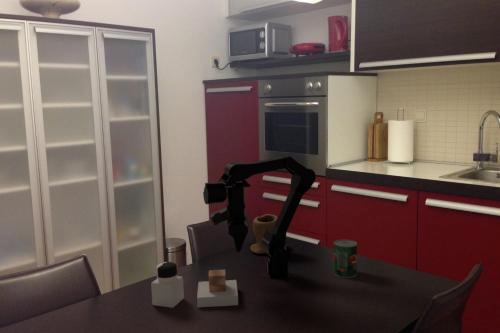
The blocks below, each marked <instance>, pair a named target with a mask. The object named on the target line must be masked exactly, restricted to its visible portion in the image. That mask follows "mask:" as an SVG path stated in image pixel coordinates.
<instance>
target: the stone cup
mask: <svg viewBox="0 0 500 333" xmlns="http://www.w3.org/2000/svg"><path fill="white" fill-rule="evenodd" d="M277 218H278V215H275V214H270V213H267V214H263V215H260V216H256V217H255V218H254V219H253V221H252V229H253V230H252V231H253V233H254V234H253V235H254V236H255V239H256V243H253V244H251V246H250V250H251V252H252V253H255V254H267V252H266V251H264V250H263V248H262V245H261V243H262V240H261V239H262V237H263V236H264V233H265V230H266V229H267V230H269V231H270V230H271V229H272V228H273V227H274V225H275V223H276V221H277ZM284 249H285V250H286V251H287V245H286V244H285V248H284Z"/></svg>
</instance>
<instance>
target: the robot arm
mask: <svg viewBox="0 0 500 333" xmlns="http://www.w3.org/2000/svg"><path fill="white" fill-rule="evenodd" d="M278 170H286V171H287V172H288V174H290V175H291V177H290V178H291V179H290V189H289V192H288V194H287V196H286V198H285V201H284V203H283V205H282V208H281V210H280V212H279V214H278V215H277V221H276V223H275V225H274V227H273V228H272V229H271V230H270V231H269V230H267V229H266V230H265V233H264V236H263V237H262V239H261V240H262V243H261V245H262V248H263V250H264V251H266V252H267V253H266V255H267V256H268V260H267V261H266V266H267V267H266V268H267V275H268V276H269V278H270V279H283V278H286V279H287V278H289V277H290V275H289V261H290V259H291V256H292V254H291V253H290V252H289V251H288V250H287V249H286V250H285V249H284V248H285V245H286V244H287V232H288V230H289V228H290V225H291V223H292V221H293V218H294V216H295V214H296V212H297V210H298V208H299V206H300V204H301V201H302V199H303V196H304V195H305V194H306V193H307V192H308V191H310V190H311V189H312V186H313V185H314V184H315V182H316V179H317V174H316V172H315V171H314V170H313V169H312V168H309V167H306V166H304V165H303V164H301V163H299V162H298V161H297V160H296V159H294V158H293V157H292V156H290V155H281V156H278V157H272V158H267V159H263V160H257V161H252V162H245V161H231V162H228V163H227V164H226V165H225V167H224V170H223V171H224V172H223V173H222V175H221V176H220V177H219V180H218V181H217V182H205V183H204V188H203V192H202V195H203V196H202V197H203V201H204V204H205V205H212V204H213V205H214V204H223V203H224V202H225V201H226V202H227V203H226V206H225V207H224V208H221V209H219V210H217V211H214V212H212V213H211V214H210V219H211V222H212V224H213V226H217V225H219V224H221V223H223V222H227V232H228V233H227V234H228V235H229V236H231V237H232V239H233V242H234V246H235V251H236V253H239V252H241V250H242V248H243V245H244V242H245V240H246V238H247V235H248V234H249V226H248V223H247V222H246V221H247V219H246V218H247V217H246V203H245V202H246V198H245V195H246V194H245V188H250V187H251V184H250V183H249V182H248V181H247V179H250V178H251V177H253V176H256V175H259V174H263V173H268V172H269V173H270V172H273V171H278Z"/></svg>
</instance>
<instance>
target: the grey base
mask: <svg viewBox="0 0 500 333" xmlns="http://www.w3.org/2000/svg"><path fill="white" fill-rule="evenodd" d="M225 280H226V291H222V292H209V280H208V281H207V280H206V281H198V285H197V294H196V295H197V296H196V299H197V300H196V302H197V305H196V306H197V308H209V307H212V308H213V307H227V306H228V307H229V306H239V294H238V284H237V279H232V280H231V279H229V280H227V279H225Z"/></svg>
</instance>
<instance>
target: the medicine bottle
mask: <svg viewBox="0 0 500 333" xmlns="http://www.w3.org/2000/svg"><path fill="white" fill-rule="evenodd" d="M155 270H156V279H155V280H153V281H152V282H151V283H150V284H151V285H150V287H151V303H152V306H155V307H156V306H157V307H162V308H163V307H164V308H170V309H173V308H175V306H177V305H178V304H180V302H182V300H184V299H185V292H184V276H180V275H178V265H177V263H175V262H171V261H164V262H161V263H158V264H157V265H156V269H155Z"/></svg>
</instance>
